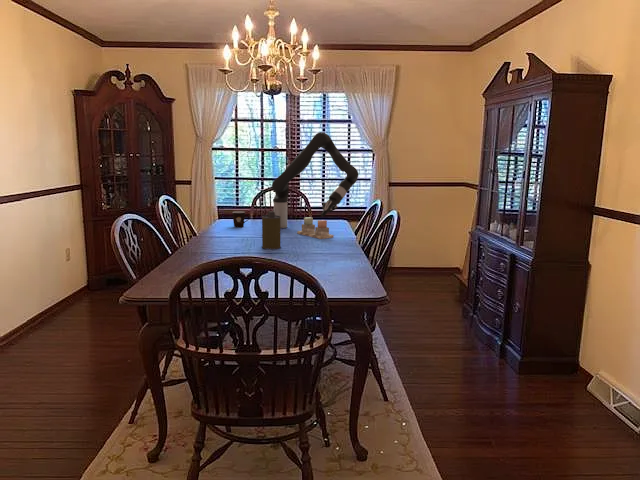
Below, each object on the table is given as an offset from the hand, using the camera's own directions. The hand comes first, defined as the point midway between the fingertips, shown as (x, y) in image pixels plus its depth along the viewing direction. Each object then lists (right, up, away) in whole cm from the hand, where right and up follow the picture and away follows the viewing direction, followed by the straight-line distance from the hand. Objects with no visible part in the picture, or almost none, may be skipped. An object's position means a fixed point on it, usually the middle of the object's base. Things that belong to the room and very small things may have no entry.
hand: (322, 215), depth 319 cm
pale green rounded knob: (-9, -7, +12) cm, 17 cm away
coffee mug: (-55, -6, +37) cm, 67 cm away
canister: (-28, -19, -31) cm, 46 cm away
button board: (-4, -12, +8) cm, 15 cm away
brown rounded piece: (0, -10, +2) cm, 10 cm away
